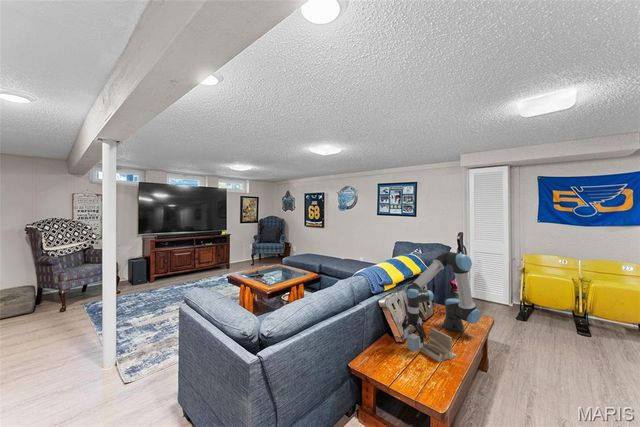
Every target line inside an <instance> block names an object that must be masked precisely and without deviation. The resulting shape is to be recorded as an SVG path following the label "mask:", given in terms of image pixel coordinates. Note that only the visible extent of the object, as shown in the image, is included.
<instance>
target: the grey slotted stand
mask: <svg viewBox="0 0 640 427" xmlns="http://www.w3.org/2000/svg"><path fill="white" fill-rule="evenodd" d="M452 339H453V337H451V336H450V335H448V334H446V333H443V332H442V331H439V330H438V329H435V328H433V327H430V328H429V342H428V343H426V344H425V342H423V347H421V352H422V353H423V354H425V355H426V356H427V357H430V358H431V359H432V360H434V361H436V362H437V363H441V362H442V363H443V362H444V361H446V360H453V359H456V358H458V355H457V354H456V353H454V352H453V348H452V347H453V346H452V345H453V342H452V341H453V340H452Z"/></svg>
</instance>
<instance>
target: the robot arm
mask: <svg viewBox="0 0 640 427" xmlns="http://www.w3.org/2000/svg"><path fill="white" fill-rule="evenodd" d="M472 266H473V262H472V259H471V258H470V256H468V255H467V254H464V253H459V252H453V251H445V252H442V253H440V254H438V256H436V257H435V258H434V259H433V260H432V263H430V265H429V266H428V267H427V268H426V269H425V270H424V271H423V272H422V273H421V274H420V275H418V277H417V278H416V279H414V281H413V282H412V283H411V284H410V283H409V284H405V285H404V287H403V288H404V289H403V291H404V293H405V294H406V296H407V314H406V315H404V319H403V320H402V323H401V327H402V328H403V333H404V334H403V338H404V339H407V335H409V329H408V327H409V326H413V328H414V329H416V330H415V331H417V334H418V336H419V337H420V338H419V348H420V349H422V347H423V343H425V342H424V339H427V335H426V332H425V330H424V327H423V322H422V321H419V319H420V304H421V303H427V302H433V300H434V293H433V291H432V290H428V289H425V290H424V287H425V286H427V285H428V284H429V282H431V280H432V279H433V278H434V277H435V276H436V275H437V274H438V273H440V272H441V270H444V269H445V268H447V267H449V268H451V272H452V273H453V274H454V276H455V283H456V287H457V293H458V298H447V299H445V302H444V303H445V305H444V306H445V307H444V308H445V318H444V320H443V322H442V327H443V328H444V329H446V330H448V331H451V332H455V333H461V332H464V331H465V326H464V323H463V321H465V322H467V323H469V324H472V325H475V324H477V323H478V322H479V321H480V320H481V318H482V312H481V311H480V310H479V309H478V308H477V306H476V303H475V302H474V301H473V296H472V291H471V285H470V280H469V272H470V271H471V269H472Z"/></svg>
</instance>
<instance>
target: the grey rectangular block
mask: <svg viewBox="0 0 640 427" xmlns="http://www.w3.org/2000/svg"><path fill="white" fill-rule="evenodd" d="M419 338H420V336H419V335H417V334H416V333H410V334H409V333H408V335H407V338H406V348H407V349H408V350H410V351H411V352H413V353H416V352H418V351H421V348H419Z"/></svg>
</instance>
